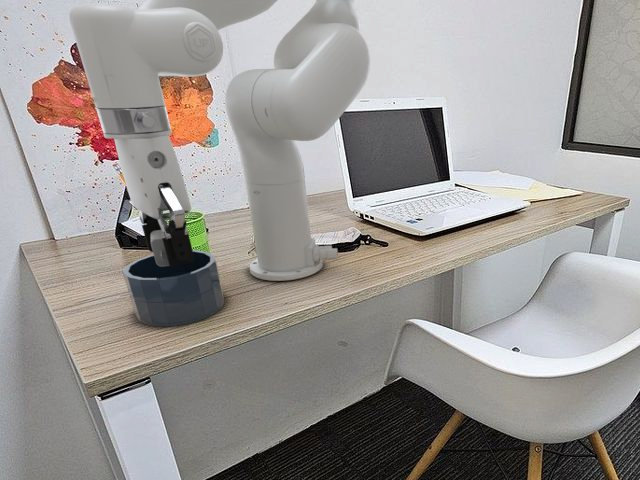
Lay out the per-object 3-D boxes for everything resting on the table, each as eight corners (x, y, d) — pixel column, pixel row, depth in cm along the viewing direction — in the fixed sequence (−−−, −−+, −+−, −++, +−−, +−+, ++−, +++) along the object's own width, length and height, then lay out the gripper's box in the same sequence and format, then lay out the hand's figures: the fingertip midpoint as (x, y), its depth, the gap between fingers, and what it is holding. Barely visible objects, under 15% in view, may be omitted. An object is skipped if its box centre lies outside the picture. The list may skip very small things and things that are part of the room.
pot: (205, 285, 78) (196, 244, 74) (237, 308, 70) (229, 264, 67) (126, 307, 70) (112, 263, 67) (152, 335, 63) (138, 287, 60)
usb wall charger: (186, 253, 71) (179, 227, 69) (190, 268, 65) (183, 240, 63) (156, 257, 69) (149, 231, 67) (157, 273, 64) (149, 245, 62)
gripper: (193, 125, 55) (223, 265, 64) (145, 116, 67) (176, 237, 75) (123, 131, 51) (165, 281, 59) (84, 120, 62) (124, 248, 70)
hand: (171, 255), depth 67 cm, fingers closed on usb wall charger, 7 cm apart
